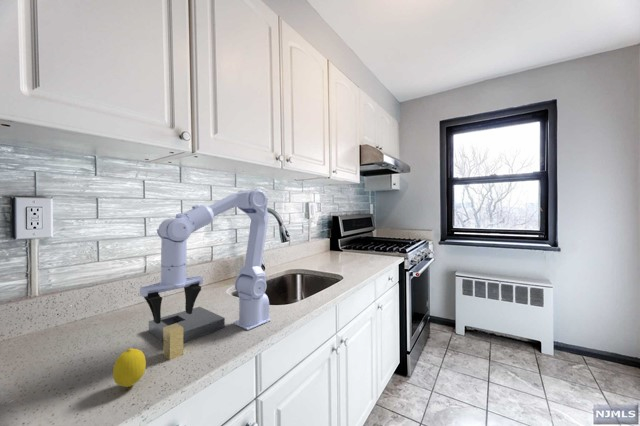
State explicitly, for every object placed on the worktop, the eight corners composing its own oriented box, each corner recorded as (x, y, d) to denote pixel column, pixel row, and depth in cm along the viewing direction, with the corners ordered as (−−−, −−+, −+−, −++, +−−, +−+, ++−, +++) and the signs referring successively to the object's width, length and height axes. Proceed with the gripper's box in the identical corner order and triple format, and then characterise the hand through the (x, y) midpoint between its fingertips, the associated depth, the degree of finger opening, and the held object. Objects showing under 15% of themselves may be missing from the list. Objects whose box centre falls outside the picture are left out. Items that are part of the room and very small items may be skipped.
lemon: (140, 375, 58) (141, 339, 58) (149, 385, 54) (149, 347, 54) (109, 388, 53) (109, 349, 53) (116, 400, 50) (117, 359, 50)
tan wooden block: (176, 349, 69) (176, 323, 69) (183, 354, 66) (183, 327, 66) (163, 354, 66) (163, 327, 66) (169, 360, 64) (170, 331, 64)
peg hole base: (199, 314, 92) (199, 306, 92) (224, 327, 82) (224, 317, 82) (148, 331, 79) (148, 321, 79) (170, 347, 69) (170, 336, 69)
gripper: (147, 272, 58) (147, 332, 58) (208, 262, 69) (208, 312, 69) (136, 267, 62) (136, 323, 62) (196, 259, 74) (195, 306, 74)
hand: (173, 317), depth 66 cm, fingers open, 7 cm apart
